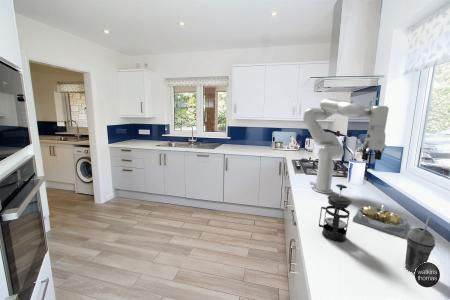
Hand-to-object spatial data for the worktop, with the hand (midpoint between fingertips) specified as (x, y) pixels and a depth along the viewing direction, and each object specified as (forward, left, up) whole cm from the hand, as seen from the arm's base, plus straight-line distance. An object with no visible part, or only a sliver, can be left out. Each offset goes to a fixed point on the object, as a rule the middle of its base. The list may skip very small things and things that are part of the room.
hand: (371, 159), depth 121 cm
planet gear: (+15, -17, -27) cm, 35 cm away
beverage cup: (+24, -48, -28) cm, 61 cm away
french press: (-3, -46, -28) cm, 54 cm away
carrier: (+10, -14, -28) cm, 33 cm away
